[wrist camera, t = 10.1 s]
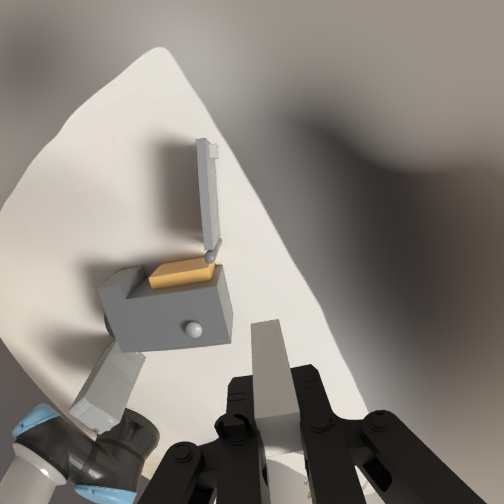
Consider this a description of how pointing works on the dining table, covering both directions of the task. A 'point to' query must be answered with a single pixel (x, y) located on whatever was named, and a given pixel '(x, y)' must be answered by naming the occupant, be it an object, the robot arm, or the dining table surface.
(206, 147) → the door
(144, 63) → the dining table surface
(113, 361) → the skincare box
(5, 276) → the dining table surface
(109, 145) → the dining table surface
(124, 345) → the housing
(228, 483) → the robot arm
